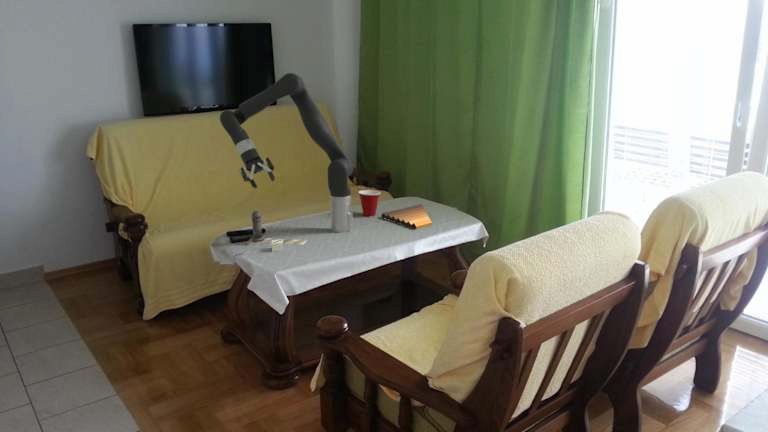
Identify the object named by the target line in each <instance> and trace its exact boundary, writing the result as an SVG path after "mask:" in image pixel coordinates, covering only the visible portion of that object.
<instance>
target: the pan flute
mask: <svg viewBox="0 0 768 432" xmlns="http://www.w3.org/2000/svg"><path fill="white" fill-rule="evenodd" d="M424 207H425V206H424V205H423V204H422V203H421V204H416V205H412V206H408V207H404V208H399V209H396V210H391V211H387V212H383V213H382V214H381V218H382V219H383V218H386V219H385V220H387V219H389V220H392V221H395V222H398V223H401V224H403V225H406V226H405V227H407V226H409V227H412V228H414V229H413V230H415V229H416V230H419V229H418V228H420V229H422V228H421V227H424V226H427V225H431V224H433V222H432V220H431V218H430V216H429V214H428V213H427V210H426V209H425V208H424ZM389 220H388V221H389ZM392 221H391V222H392ZM395 222H394V223H395ZM398 223H397V224H398ZM401 224H400V225H401ZM403 225H402V226H403ZM431 226H432V225H431ZM409 227H408V228H409ZM427 227H428V226H427ZM412 228H411V229H412ZM424 228H425V227H424Z"/></svg>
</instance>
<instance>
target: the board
mask: <svg viewBox="0 0 768 432" xmlns="http://www.w3.org/2000/svg"><path fill="white" fill-rule="evenodd" d="M282 239H283V245H284V244H285V245H302V246H303V245H305V244H306V243H307V242H308V240H307V239H293V238H271V237H268V238H267V237H264V240H263V241H260V242H259V243H261V244H272V240H282ZM251 243H255V242H254V241H252V237H251V238H249V239H248V240H247V241H246V242H245V245H246V246H249V244H251Z"/></svg>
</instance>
